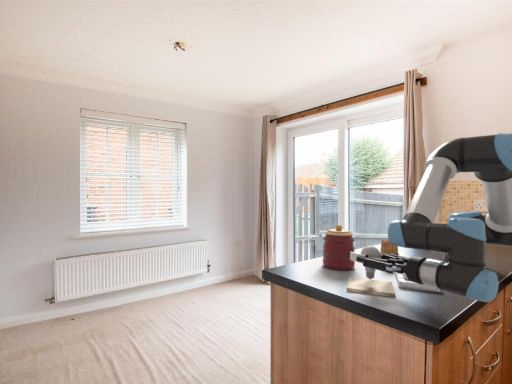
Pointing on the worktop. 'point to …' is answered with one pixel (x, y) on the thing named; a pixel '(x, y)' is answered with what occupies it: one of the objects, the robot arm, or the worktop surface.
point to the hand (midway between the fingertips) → (357, 254)
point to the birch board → (370, 287)
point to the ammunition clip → (388, 248)
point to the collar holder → (412, 284)
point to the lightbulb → (372, 253)
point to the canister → (338, 249)
